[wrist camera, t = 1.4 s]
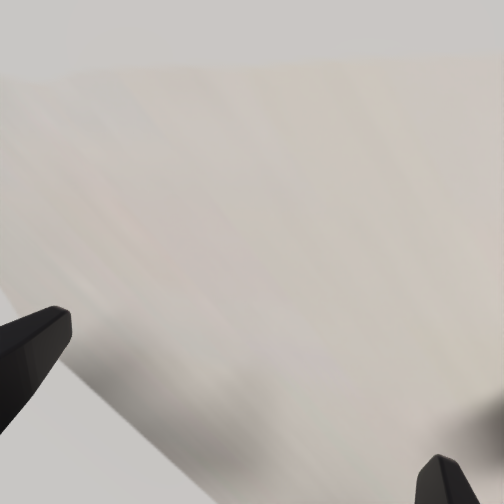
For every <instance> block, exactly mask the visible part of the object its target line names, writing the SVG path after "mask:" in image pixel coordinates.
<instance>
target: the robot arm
mask: <svg viewBox="0 0 504 504" xmlns="http://www.w3.org/2000/svg"><path fill="white" fill-rule="evenodd" d="M71 337H72V323H71V313H70V312H69V311H68V310H66V309H64V308H61V307H59V306H50V307H48V308H45V309H42V310H40V311H37V312H35V313H32V314H30V315H27V316H25V317H22V318H20V319H17V320H15V321H12V322H10V323H7V324H5V325H2V326H0V434H1V433H2V432H3V431H4V430H5V429H6V427H7V426H8V425H9V423H10V422H11V421H12V420H13V419H14V418H15V417H16V415H17V414H18V413H19V412H20V411H21V409H22V408H23V407H24V406H25V405H26V403H27V402H28V401H29V400H30V398H31V397H32V396H33V394H34V393H35V392H36V390H37V389H38V387H39V386H40V385H41V383H42V382H43V380H44V379H45V377H46V376H47V374H48V373H49V371H50V370H51V368H52V367H53V365H54V364H55V363H56V361H57V360H58V358H59V357H60V355H61V354H62V352H63V351H64V349H65V348H66V346H67V345H68V343H69V342H70V340H71ZM415 504H480V503H479V501H478V499H477V497H476V495H475V493H474V492H473V490H472V488H471V486H470V484H469V482H468V481H467V479H466V477H465V475H464V473H463V471H462V470H461V468H460V466H459V464H458V463H457V462H456V461H454V460H453V459H450V458H448V457H445V456H443V455H440V454H437V455H434V456H433V457H432V458H431V459H430V461H429V462H428V463H427V464H426V465H425V466H424V467H423V468H422V470H421V471H420V472H419V474H418V477H417V483H416V494H415Z"/></svg>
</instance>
